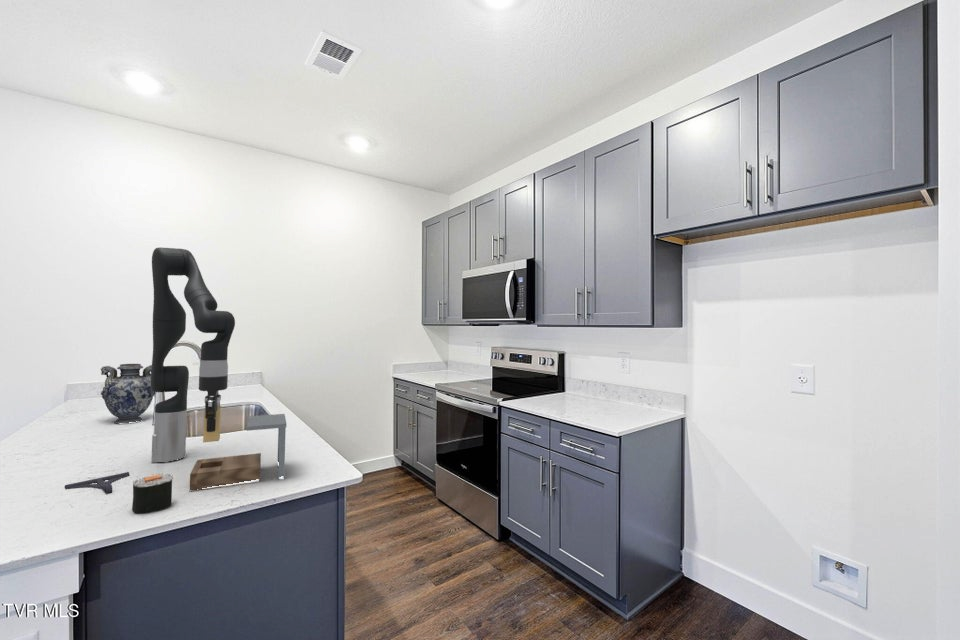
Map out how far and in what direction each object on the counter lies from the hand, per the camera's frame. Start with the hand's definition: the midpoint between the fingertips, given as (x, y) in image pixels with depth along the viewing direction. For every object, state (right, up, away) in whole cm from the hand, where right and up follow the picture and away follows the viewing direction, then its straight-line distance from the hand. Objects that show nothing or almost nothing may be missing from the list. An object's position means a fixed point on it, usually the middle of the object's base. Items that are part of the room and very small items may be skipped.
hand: (211, 429), depth 128 cm
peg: (0, -3, 0) cm, 3 cm away
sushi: (-4, -16, -19) cm, 25 cm away
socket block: (+4, -16, +2) cm, 16 cm away
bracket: (-28, -16, -7) cm, 33 cm away
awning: (+13, -16, +7) cm, 22 cm away
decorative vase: (-88, -16, +73) cm, 115 cm away
